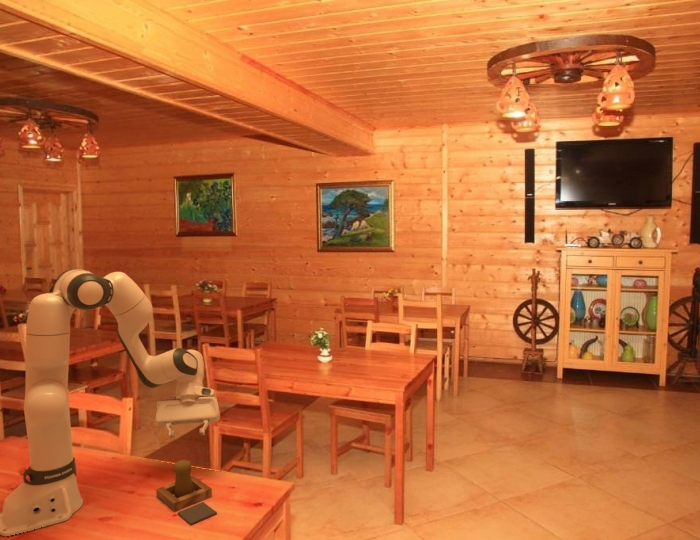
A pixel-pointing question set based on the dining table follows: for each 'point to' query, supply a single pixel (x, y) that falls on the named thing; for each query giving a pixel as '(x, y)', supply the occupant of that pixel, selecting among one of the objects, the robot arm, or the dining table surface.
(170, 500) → the walnut housing
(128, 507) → the dining table surface
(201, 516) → the rubber mat
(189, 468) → the cork
